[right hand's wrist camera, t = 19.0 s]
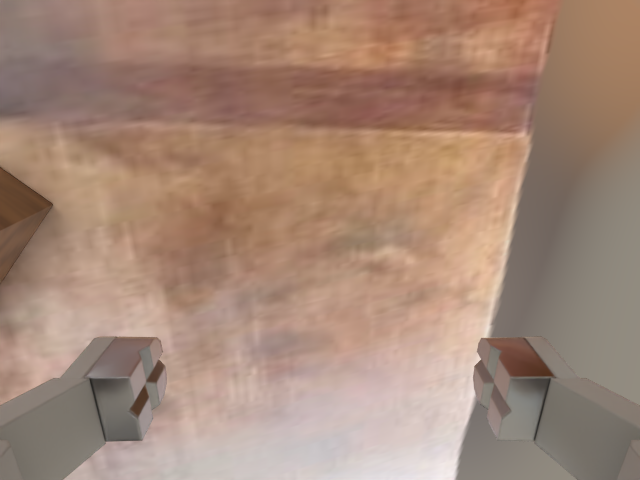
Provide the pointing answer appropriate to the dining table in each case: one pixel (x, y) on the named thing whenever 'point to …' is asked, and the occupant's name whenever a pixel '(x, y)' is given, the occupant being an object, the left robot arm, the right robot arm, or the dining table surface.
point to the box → (17, 218)
